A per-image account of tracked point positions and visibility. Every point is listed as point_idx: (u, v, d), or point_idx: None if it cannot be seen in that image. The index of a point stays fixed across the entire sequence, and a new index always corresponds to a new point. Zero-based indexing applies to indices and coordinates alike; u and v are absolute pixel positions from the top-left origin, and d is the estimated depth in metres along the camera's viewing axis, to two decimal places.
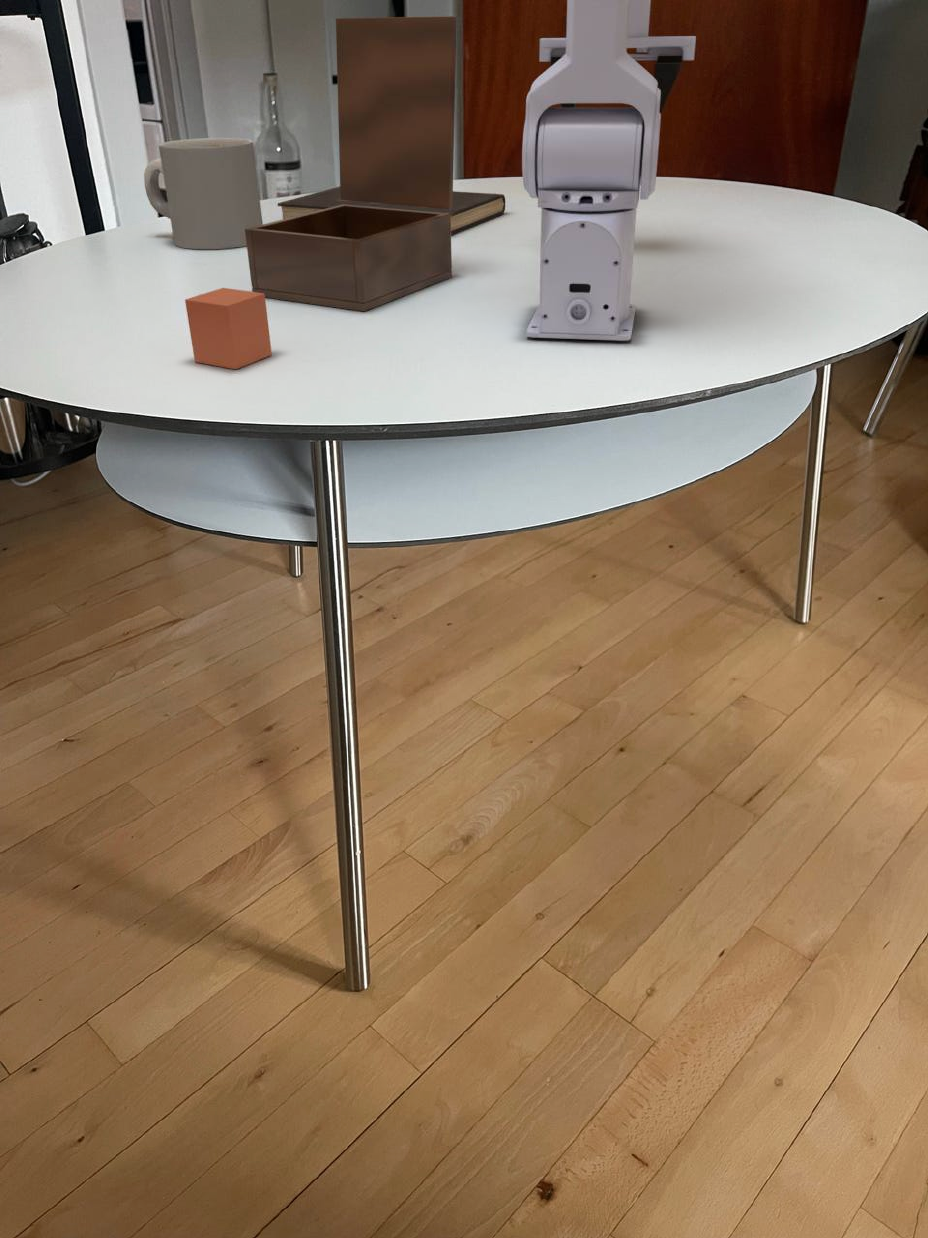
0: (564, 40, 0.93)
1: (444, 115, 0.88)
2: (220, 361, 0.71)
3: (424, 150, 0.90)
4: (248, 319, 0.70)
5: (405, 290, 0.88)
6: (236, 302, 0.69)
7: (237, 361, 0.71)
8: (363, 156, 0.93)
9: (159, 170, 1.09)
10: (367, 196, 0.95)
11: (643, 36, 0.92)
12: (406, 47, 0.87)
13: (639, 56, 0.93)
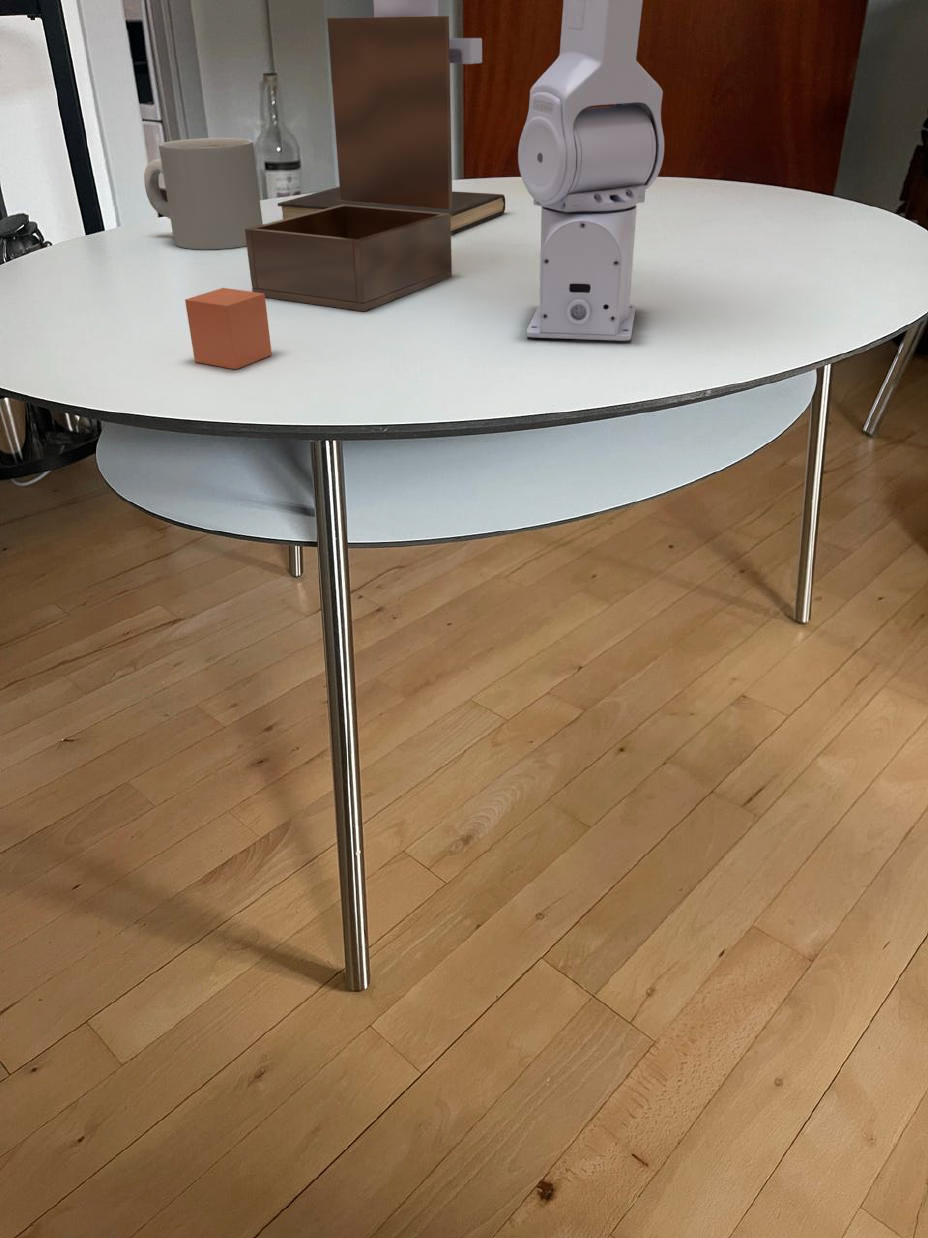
0: None
1: (440, 116, 0.87)
2: (220, 361, 0.71)
3: (422, 151, 0.90)
4: (248, 319, 0.70)
5: (405, 290, 0.88)
6: (236, 302, 0.69)
7: (237, 361, 0.71)
8: (361, 157, 0.93)
9: (159, 170, 1.09)
10: (367, 196, 0.95)
11: None
12: (399, 47, 0.86)
13: None
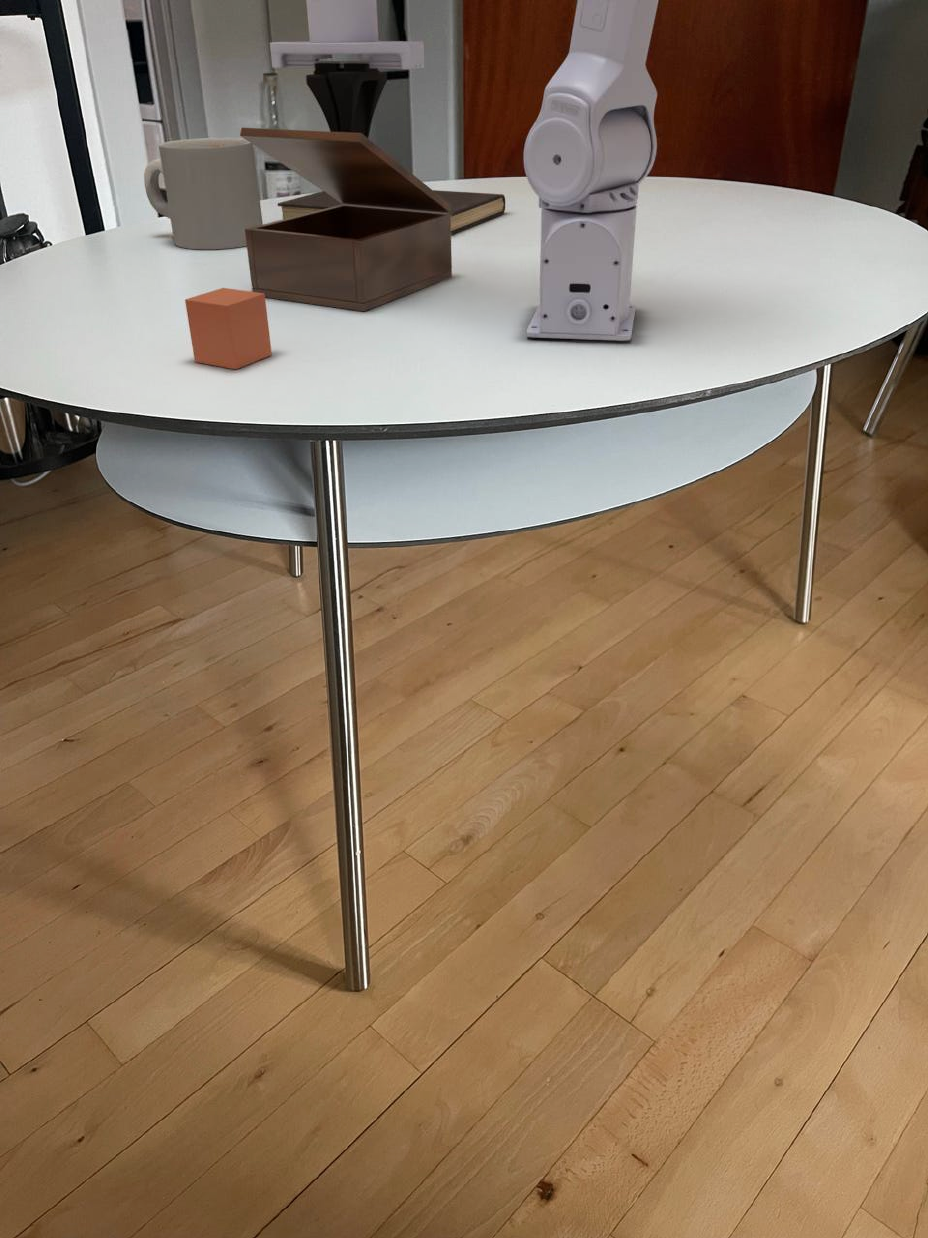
0: (287, 44, 0.83)
1: (401, 179, 0.85)
2: (220, 361, 0.71)
3: (399, 190, 0.88)
4: (248, 319, 0.70)
5: (405, 290, 0.88)
6: (236, 302, 0.69)
7: (237, 361, 0.71)
8: (342, 189, 0.92)
9: (159, 170, 1.09)
10: (366, 203, 0.95)
11: (357, 41, 0.80)
12: (328, 151, 0.82)
13: (364, 64, 0.82)
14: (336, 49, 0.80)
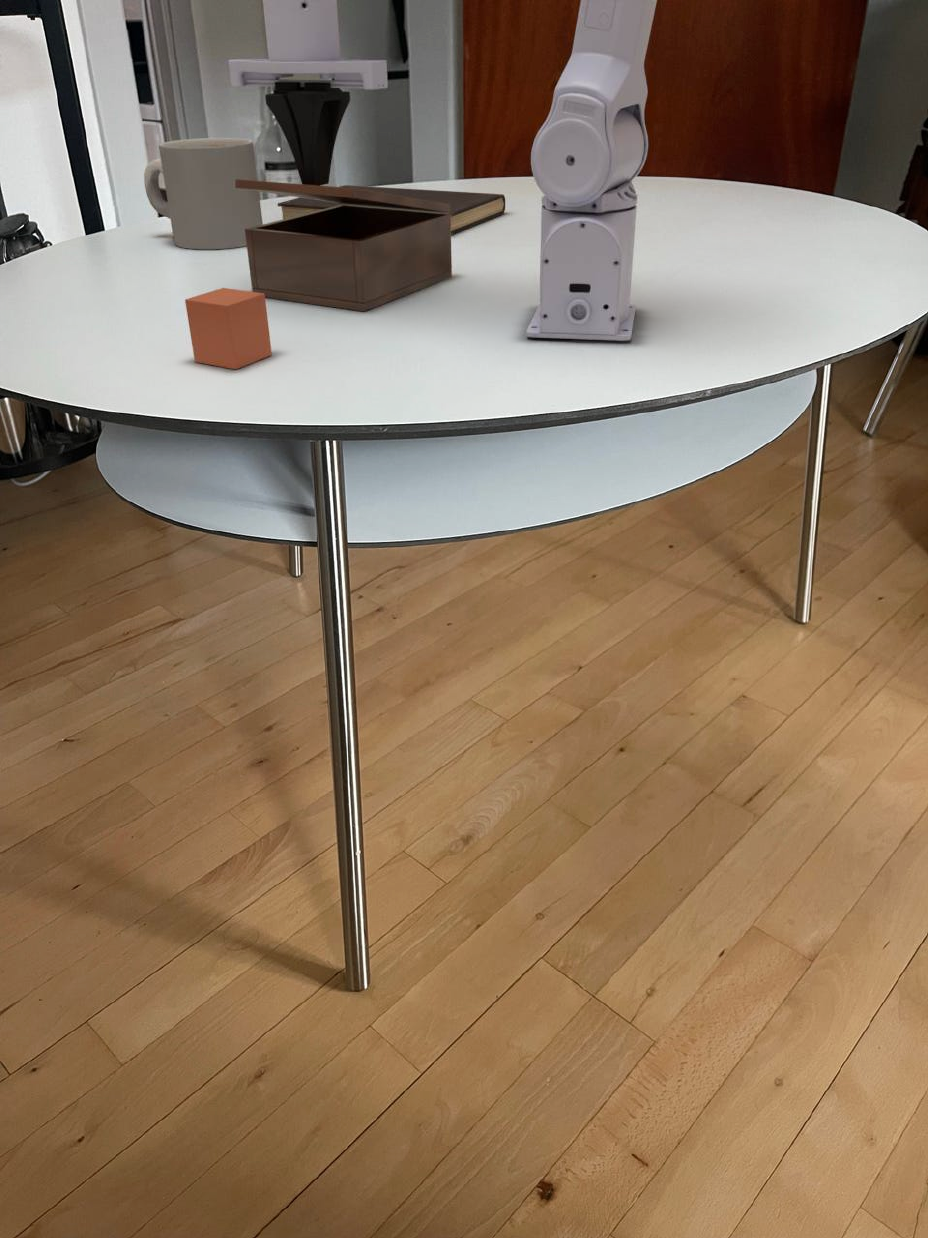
0: (246, 62, 0.80)
1: (398, 205, 0.85)
2: (220, 361, 0.71)
3: (397, 206, 0.89)
4: (248, 319, 0.70)
5: (405, 290, 0.88)
6: (236, 302, 0.69)
7: (237, 361, 0.71)
8: None
9: (159, 170, 1.09)
10: (366, 205, 0.95)
11: (317, 60, 0.77)
12: (324, 196, 0.83)
13: (325, 83, 0.79)
14: (295, 68, 0.77)
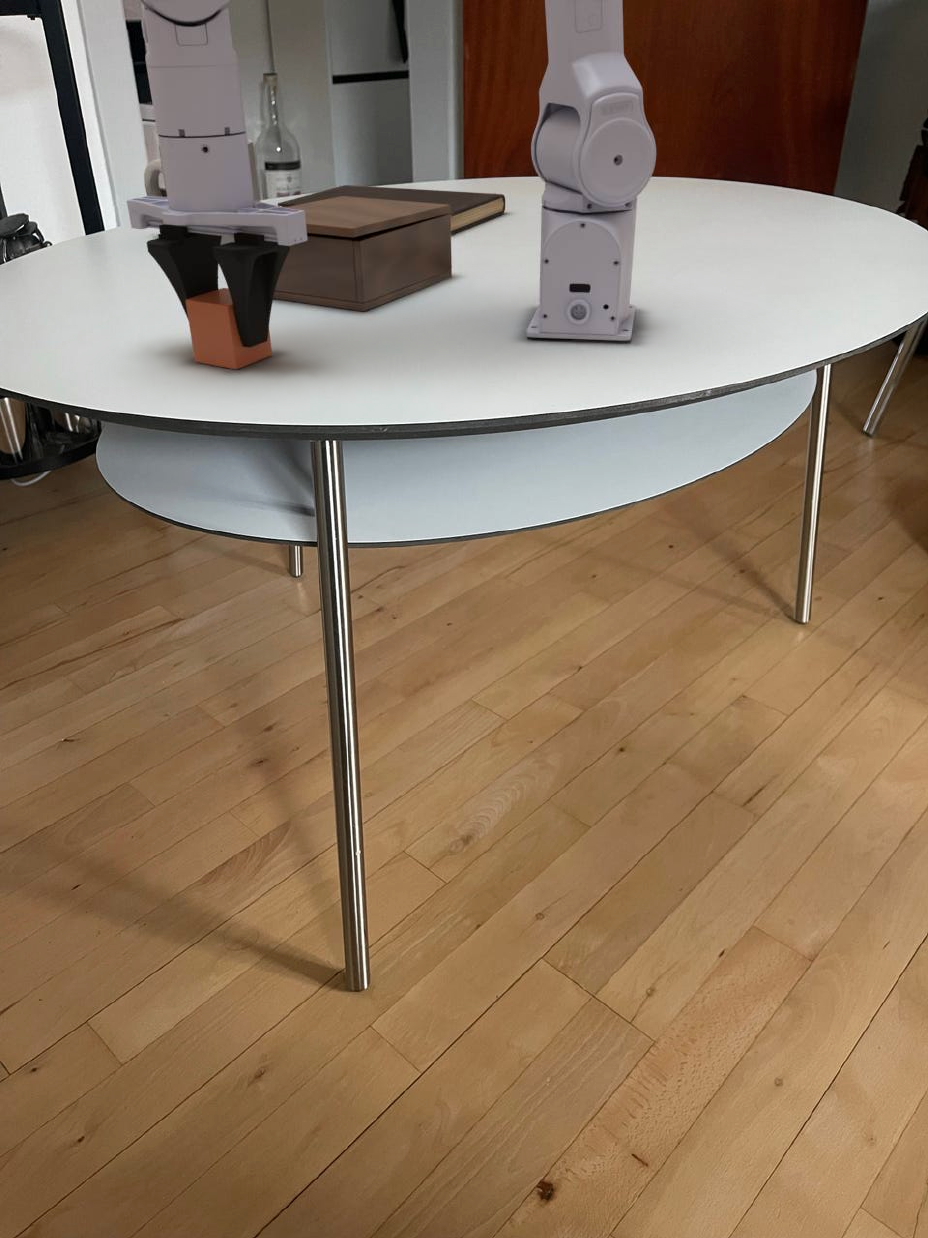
0: None
1: None
2: (220, 361, 0.71)
3: None
4: None
5: (405, 290, 0.88)
6: None
7: (237, 361, 0.71)
8: None
9: (159, 170, 1.09)
10: None
11: None
12: None
13: None
14: None
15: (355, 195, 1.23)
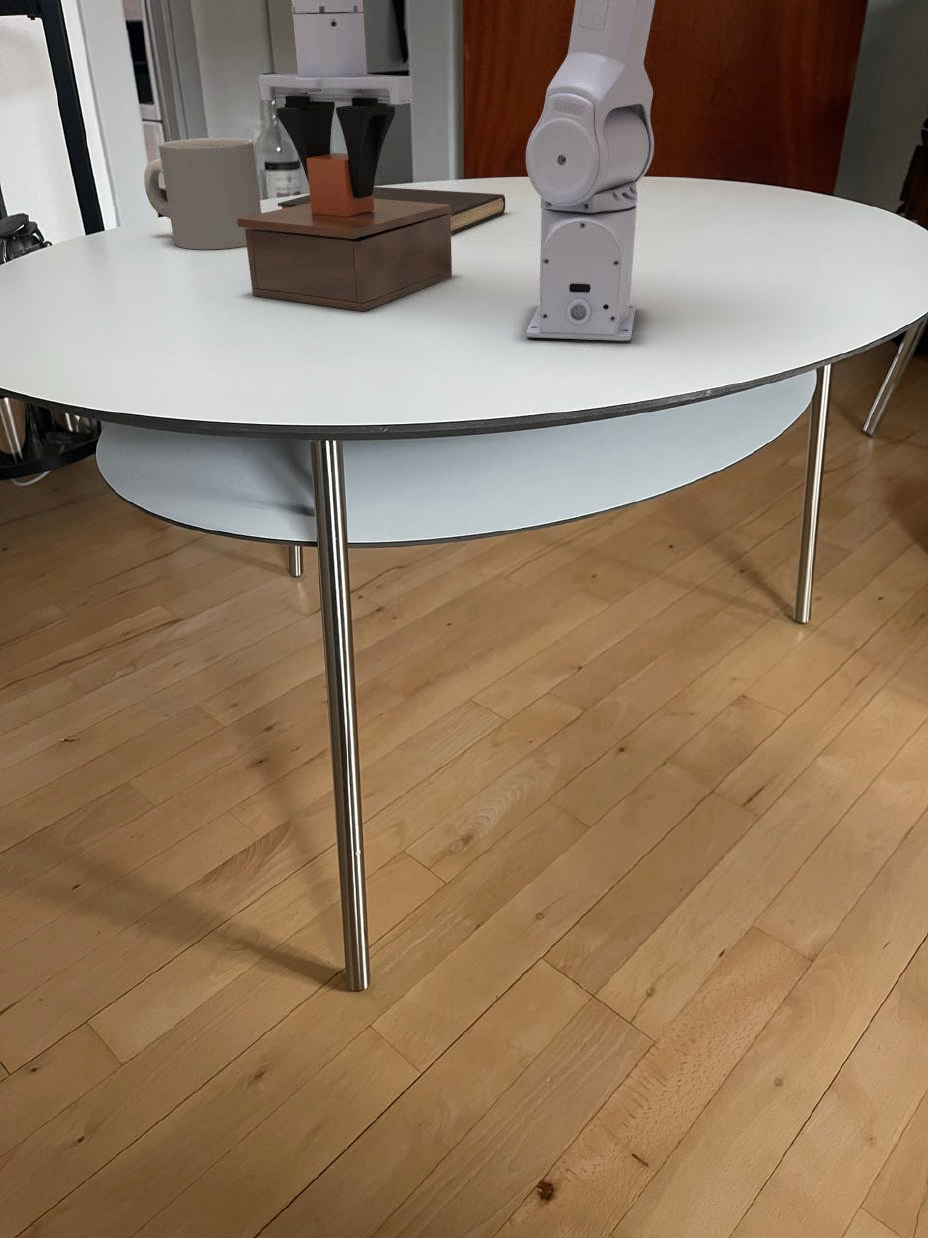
0: None
1: None
2: (334, 210, 0.86)
3: None
4: None
5: (405, 290, 0.88)
6: None
7: (349, 210, 0.85)
8: None
9: (159, 170, 1.09)
10: None
11: None
12: None
13: None
14: None
15: None
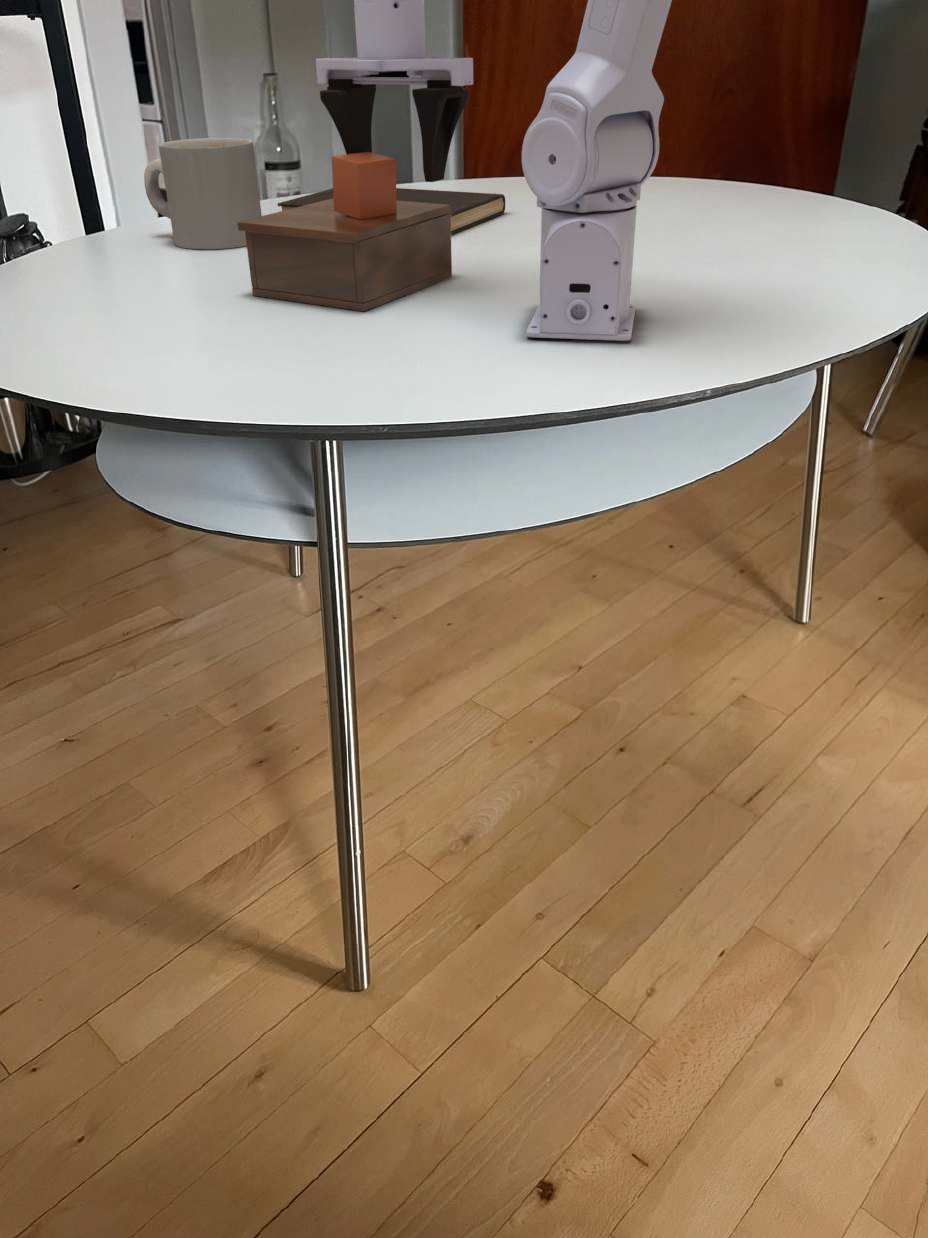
0: None
1: None
2: (350, 211, 0.86)
3: None
4: (376, 178, 0.85)
5: (405, 290, 0.88)
6: (367, 161, 0.83)
7: (362, 212, 0.85)
8: None
9: (159, 170, 1.09)
10: None
11: None
12: None
13: None
14: None
15: None
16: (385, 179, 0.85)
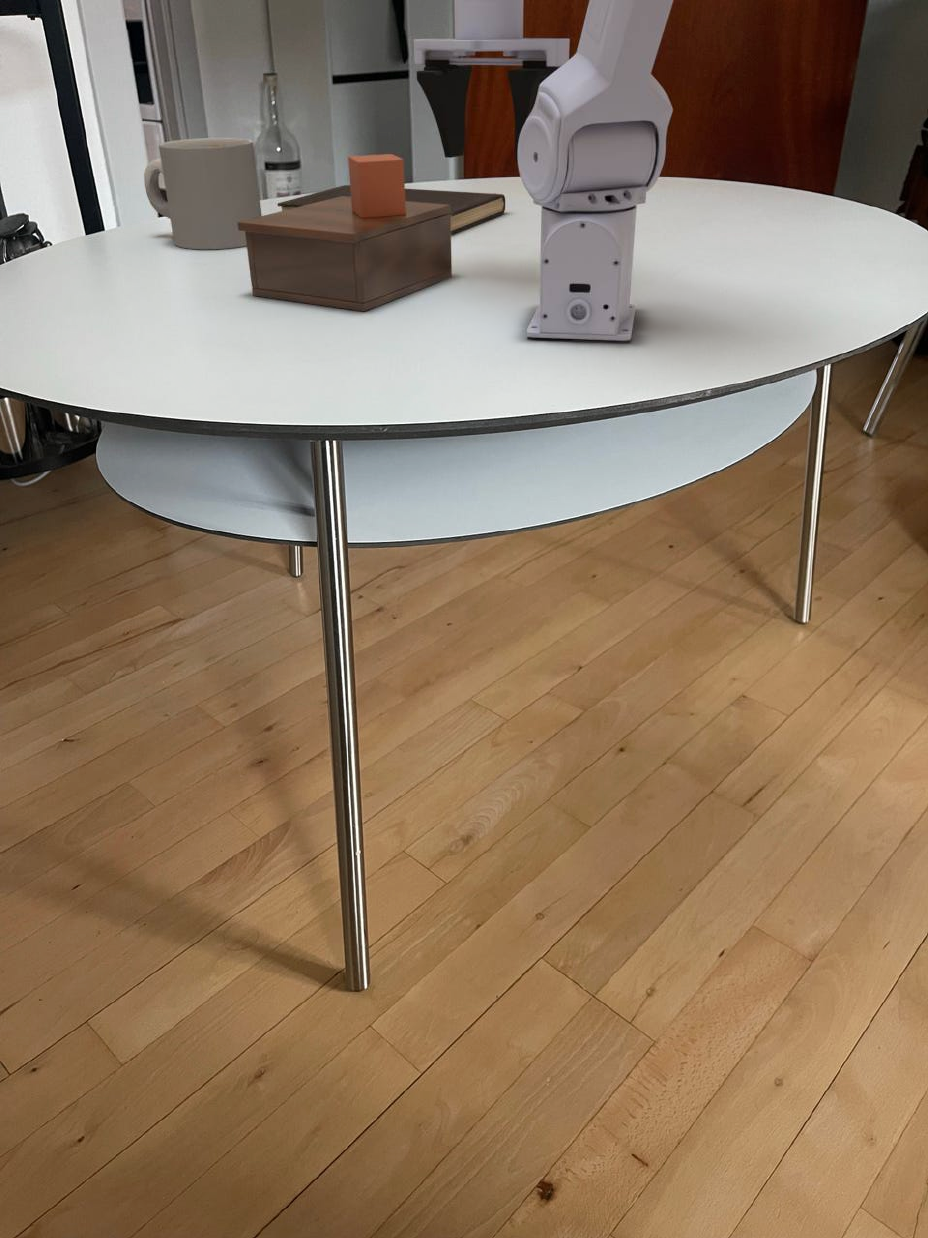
0: None
1: None
2: (357, 210, 0.87)
3: None
4: (380, 178, 0.85)
5: (405, 290, 0.88)
6: (369, 161, 0.84)
7: (364, 211, 0.86)
8: None
9: (159, 170, 1.09)
10: None
11: None
12: None
13: None
14: None
15: None
16: (391, 179, 0.85)
